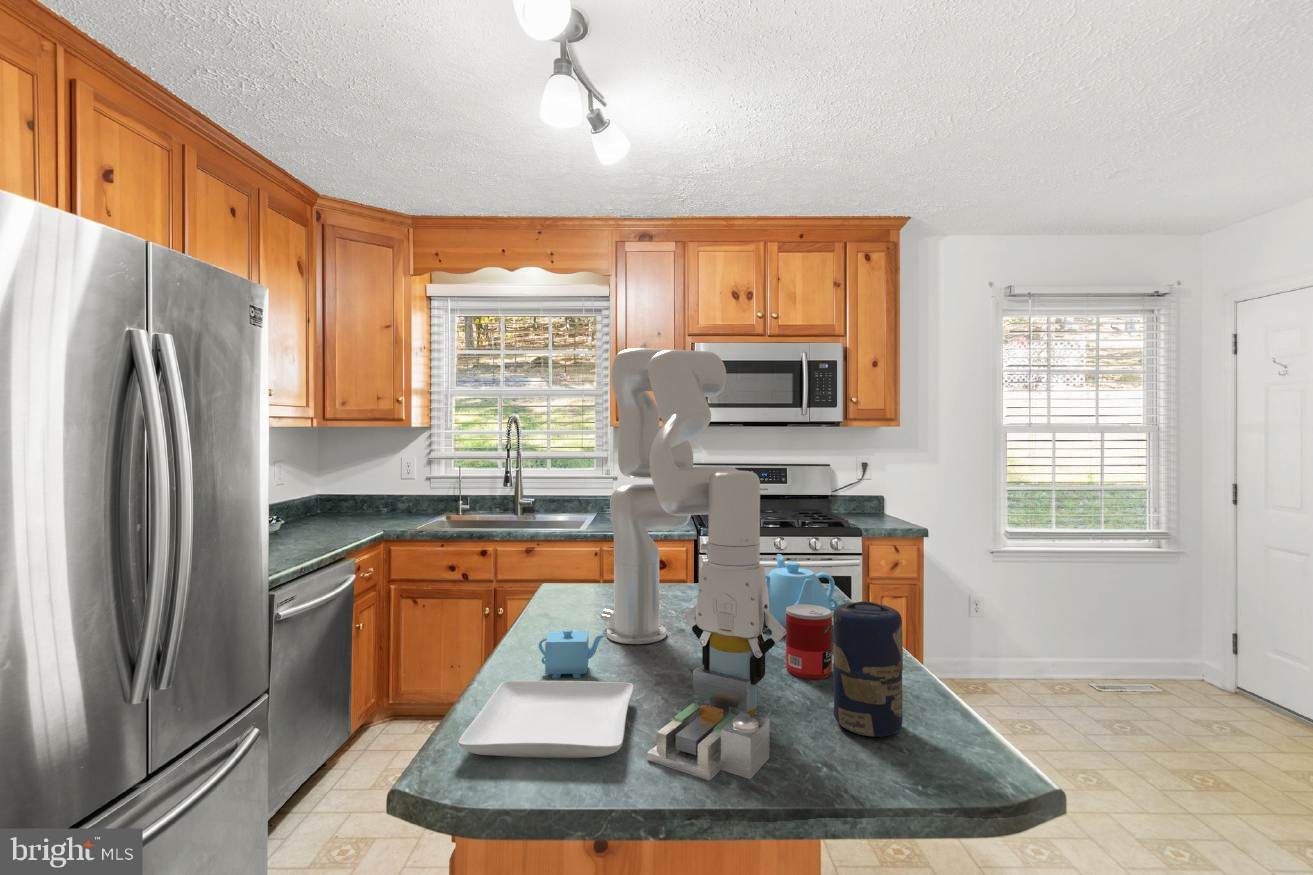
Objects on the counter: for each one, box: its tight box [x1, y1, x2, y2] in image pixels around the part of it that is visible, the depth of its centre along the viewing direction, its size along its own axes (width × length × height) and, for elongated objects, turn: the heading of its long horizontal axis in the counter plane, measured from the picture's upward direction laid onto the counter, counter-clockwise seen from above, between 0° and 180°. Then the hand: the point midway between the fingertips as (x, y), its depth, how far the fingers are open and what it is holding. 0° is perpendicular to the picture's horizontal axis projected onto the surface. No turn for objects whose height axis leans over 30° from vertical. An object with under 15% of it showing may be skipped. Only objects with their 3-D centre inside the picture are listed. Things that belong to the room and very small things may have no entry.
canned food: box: [785, 604, 833, 680], centre depth 110 cm, size 8×8×11 cm
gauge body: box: [646, 702, 770, 782], centre depth 81 cm, size 13×11×5 cm
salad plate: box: [458, 680, 635, 759], centre depth 88 cm, size 21×21×3 cm
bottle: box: [708, 612, 758, 715], centre depth 91 cm, size 7×7×15 cm
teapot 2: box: [765, 553, 839, 630], centre depth 137 cm, size 16×20×14 cm
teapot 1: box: [538, 628, 607, 679], centre depth 109 cm, size 12×6×8 cm, turn 94°
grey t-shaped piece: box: [676, 667, 750, 755], centre depth 83 cm, size 8×11×7 cm
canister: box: [832, 600, 904, 738], centre depth 89 cm, size 10×10×18 cm
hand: (733, 675), depth 91 cm, fingers closed on bottle, 6 cm apart
